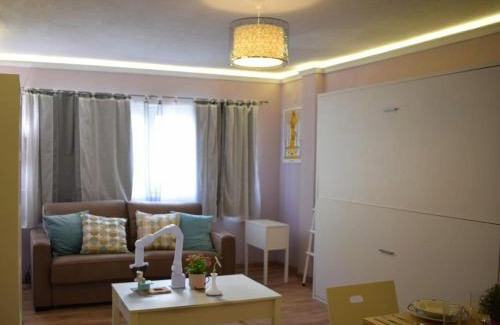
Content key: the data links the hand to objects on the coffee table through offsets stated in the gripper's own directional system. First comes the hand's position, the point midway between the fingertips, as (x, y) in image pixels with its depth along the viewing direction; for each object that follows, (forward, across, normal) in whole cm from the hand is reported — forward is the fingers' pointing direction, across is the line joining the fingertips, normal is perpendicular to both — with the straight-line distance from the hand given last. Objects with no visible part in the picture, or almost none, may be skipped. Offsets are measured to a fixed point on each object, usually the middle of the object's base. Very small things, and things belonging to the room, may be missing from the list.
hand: (138, 277), depth 352 cm
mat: (+8, 0, 0) cm, 8 cm away
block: (+2, 0, 0) cm, 2 cm away
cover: (+7, -3, -12) cm, 14 cm away
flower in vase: (+8, +28, -45) cm, 54 cm away
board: (+8, +2, -14) cm, 16 cm away
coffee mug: (+8, +32, -28) cm, 43 cm away
